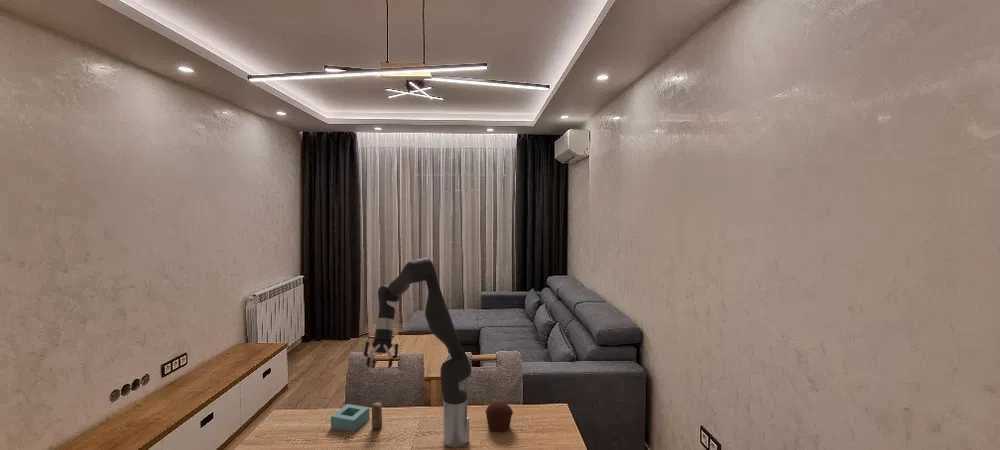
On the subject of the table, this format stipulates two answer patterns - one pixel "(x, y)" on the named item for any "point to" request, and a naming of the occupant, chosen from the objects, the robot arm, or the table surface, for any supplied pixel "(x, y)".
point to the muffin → (498, 416)
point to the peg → (376, 416)
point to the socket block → (350, 417)
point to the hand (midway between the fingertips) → (378, 367)
